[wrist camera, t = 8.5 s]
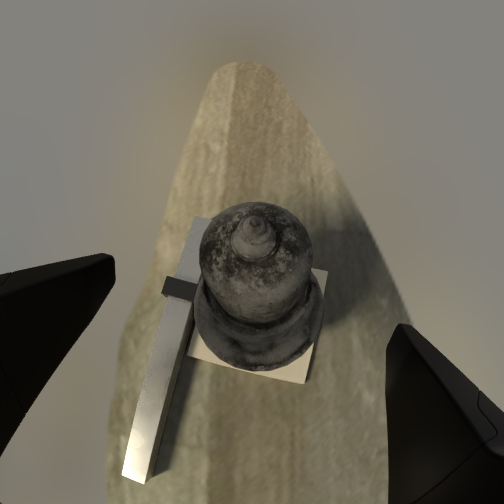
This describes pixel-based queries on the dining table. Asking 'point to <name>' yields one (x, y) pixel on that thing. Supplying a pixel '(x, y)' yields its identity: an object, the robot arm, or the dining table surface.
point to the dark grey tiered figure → (257, 288)
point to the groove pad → (288, 373)
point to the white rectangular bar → (165, 359)
